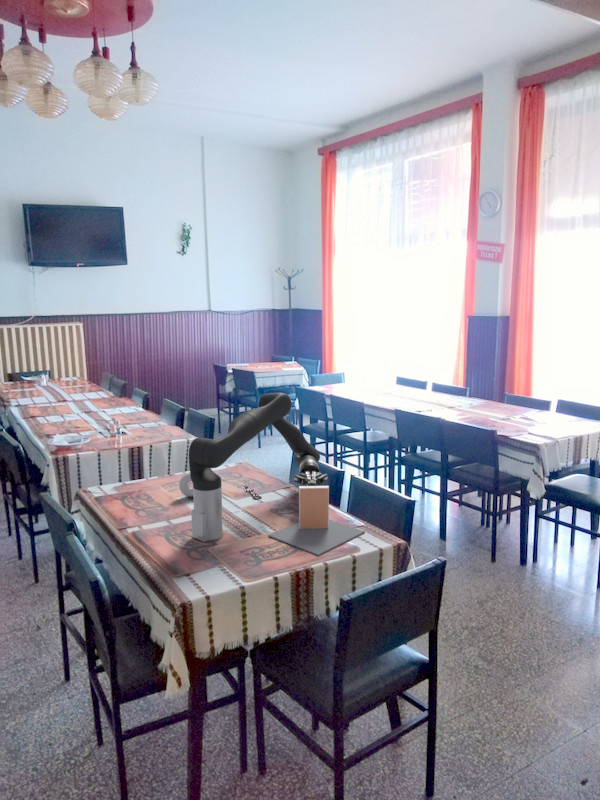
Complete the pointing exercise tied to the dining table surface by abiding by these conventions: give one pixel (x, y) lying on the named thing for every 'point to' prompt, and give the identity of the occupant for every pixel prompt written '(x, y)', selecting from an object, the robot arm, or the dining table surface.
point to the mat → (317, 537)
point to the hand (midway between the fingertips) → (312, 485)
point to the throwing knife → (252, 494)
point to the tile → (313, 507)
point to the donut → (186, 485)
